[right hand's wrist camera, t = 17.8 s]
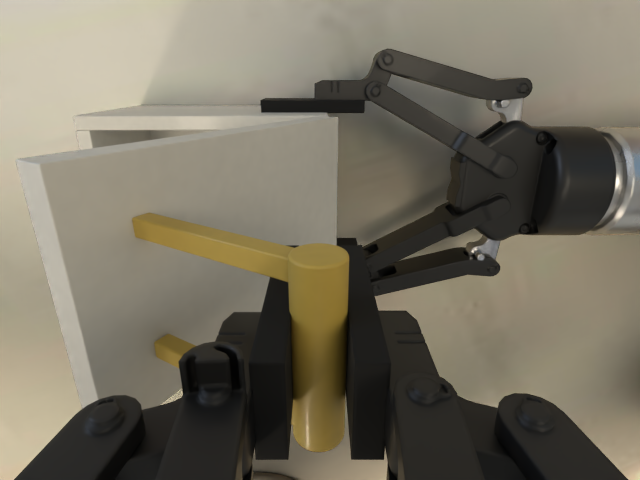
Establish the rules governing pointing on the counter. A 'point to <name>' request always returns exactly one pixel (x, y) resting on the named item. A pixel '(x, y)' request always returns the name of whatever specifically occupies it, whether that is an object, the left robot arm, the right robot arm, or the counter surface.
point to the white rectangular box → (196, 257)
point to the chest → (169, 122)
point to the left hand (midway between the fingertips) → (267, 182)
